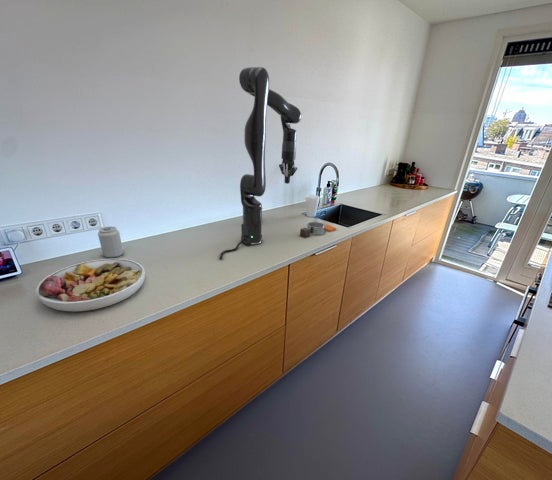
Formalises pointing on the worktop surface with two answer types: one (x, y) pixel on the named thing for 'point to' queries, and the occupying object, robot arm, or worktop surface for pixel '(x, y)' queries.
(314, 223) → the steel pot
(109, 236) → the can
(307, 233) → the walnut block
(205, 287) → the worktop surface
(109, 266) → the bowl
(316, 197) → the foam cup
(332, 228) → the orange cloth
